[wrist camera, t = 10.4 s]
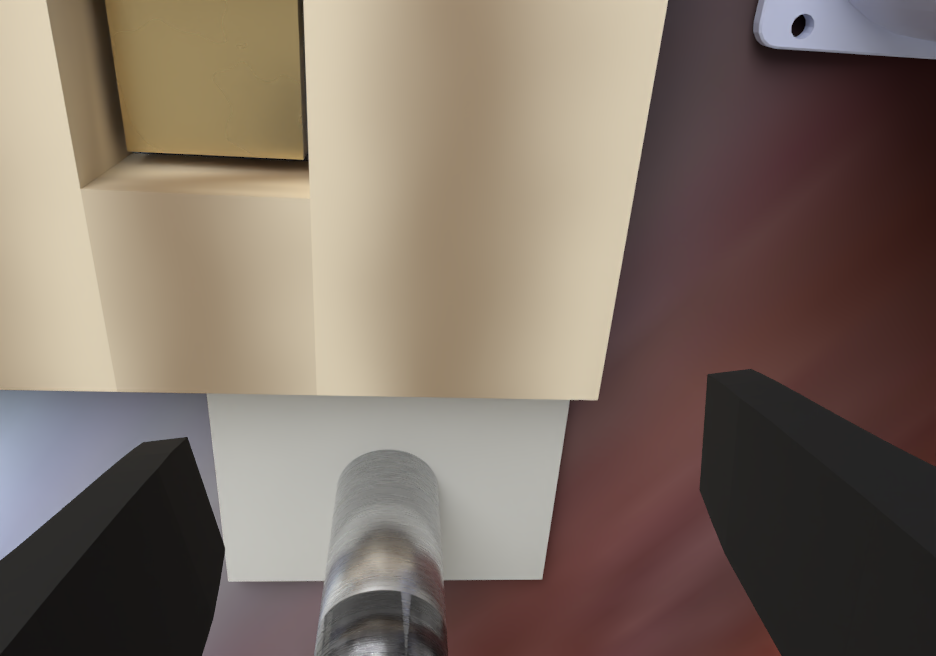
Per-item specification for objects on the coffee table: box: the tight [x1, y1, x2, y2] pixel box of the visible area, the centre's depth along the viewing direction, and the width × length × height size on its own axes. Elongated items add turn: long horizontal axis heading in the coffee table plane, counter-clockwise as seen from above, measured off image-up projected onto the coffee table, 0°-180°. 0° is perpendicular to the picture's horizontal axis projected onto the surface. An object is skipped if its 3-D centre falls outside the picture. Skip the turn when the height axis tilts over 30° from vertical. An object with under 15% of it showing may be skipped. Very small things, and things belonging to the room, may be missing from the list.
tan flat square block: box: [105, 0, 308, 160], centre depth 15 cm, size 4×4×1 cm
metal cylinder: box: [314, 449, 448, 656], centre depth 18 cm, size 3×3×7 cm
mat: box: [207, 393, 570, 582], centre depth 22 cm, size 10×7×1 cm
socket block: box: [0, 0, 668, 400], centre depth 15 cm, size 18×14×3 cm
